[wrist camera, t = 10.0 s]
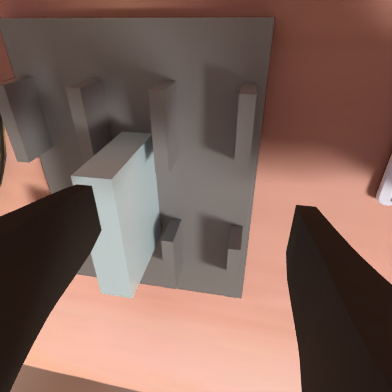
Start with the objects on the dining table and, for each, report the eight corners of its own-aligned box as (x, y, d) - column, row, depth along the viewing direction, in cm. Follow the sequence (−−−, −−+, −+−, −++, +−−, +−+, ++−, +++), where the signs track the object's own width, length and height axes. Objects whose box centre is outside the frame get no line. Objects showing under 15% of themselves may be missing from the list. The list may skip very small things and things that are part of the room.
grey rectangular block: (152, 133, 18) (111, 179, 13) (161, 234, 22) (132, 298, 17) (122, 131, 18) (70, 175, 13) (136, 231, 23) (101, 293, 18)
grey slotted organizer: (273, 17, 15) (277, 18, 12) (242, 288, 25) (239, 324, 22) (9, 17, 17) (-43, 18, 14) (81, 266, 28) (60, 296, 25)
